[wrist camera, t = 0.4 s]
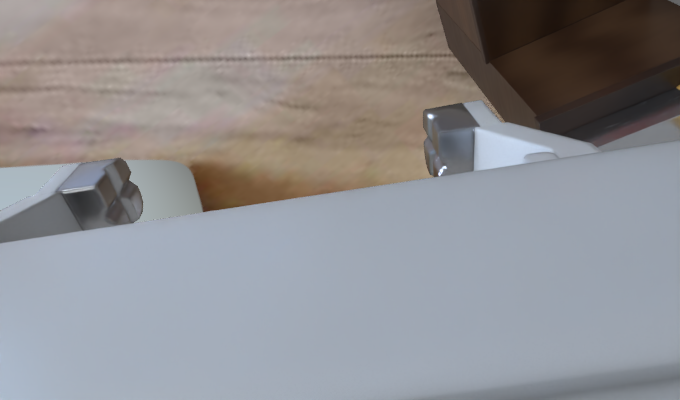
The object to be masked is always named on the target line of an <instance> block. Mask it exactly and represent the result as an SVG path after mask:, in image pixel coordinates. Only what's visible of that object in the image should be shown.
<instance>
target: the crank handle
mask: <svg viewBox="0 0 680 400" xmlns="http://www.w3.org/2000/svg"><path fill="white" fill-rule="evenodd" d="M561 136H565V137H568V138H572V139H576V140H580V141H584V142H588V143H592V144H593V145H594V146H596V147H597V148H598V149H599V150H600V151H601V152H604V151H611V150H617V149H624V148H630V147H637V146H644V145H650V144H657V143H663V142H670V141H676V140H680V85H679V86H677V87H676V88H674V89H672V90H669V91H667V92H664V93H662V94H659V95H657V96H655V97H652V98H650V99H647V100H645V101H642V102H640V103H637V104H635V105H632V106H630V107H627V108H625V109H622V110H620V111H617V112H615V113H612V114H610V115H608V116H605V117H603V118H600V119H598V120H595V121H593V122H590V123H588V124H585V125H583V126H580V127H578V128H575V129H573V130H570V131H568V132H565V133H563V134H561Z"/></svg>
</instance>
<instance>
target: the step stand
mask: <svg viewBox="0 0 680 400" xmlns="http://www.w3.org/2000/svg"><path fill="white" fill-rule="evenodd" d="M436 3H437V7H438V11H439V14H440V18H441V21H442V25H443V28H444V32H445V36H446V39H447V43H448V46H449V49H450V50H451V51H452V53H453V54H454V55H455V57H456V58H457V59H458V61H459V62H460V63H461V64H462V66H463V67H464V68H465V70H466V71H467V72H468V74H469V75H470V76H471V78H472V79H473V80H474V81H475V83H476V84H477V85H478V87H479V88H480V89H481V91H482V92H483V93H484V95H485V96H486V97H487V98H488V100H489V101H490V102H491V104H492V105H493V106H494V108H495V109H496V110H497V112H498V113H499V114H500V116H501V117H502V118H503V119H504V121H505V122H509V123H513V124H517V125H521V126H525V127H529V128H533V129H537V130H541V131H545V132H549V133H553V134H557V135H561V134H563V133H565V132H568V131H570V130H573V129H575V128H578V127H580V126H583V125H585V124H588V123H590V122H593V121H595V120H598V119H600V118H603V117H605V116H608V115H610V114H612V113H615V112H617V111H620V110H622V109H625V108H627V107H630V106H632V105H635V104H637V103H640V102H642V101H645V100H647V99H650V98H652V97H655V96H657V95H659V94H662V93H664V92H667V91H669V90H672V89H674V88H676V87H677V86H679V85H680V6H678V5H677V4H674V3H672V2H670V1H668V0H436Z"/></svg>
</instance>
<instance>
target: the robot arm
mask: <svg viewBox="0 0 680 400" xmlns="http://www.w3.org/2000/svg"><path fill="white" fill-rule="evenodd" d="M423 128H424V130H425V132H426V134H427V138H426V139H425V141H424V153H425V160H426V165H427V168H428V171H429V173H430V175H432V176H434V177H433V178H426V179H420V180H413V181H406V182H400V183H393V184H387V185H380V186H374V187H367V188H360V189H354V190H347V191H341V192H334V193H328V194H321V195H314V196H308V197H301V198H295V199H288V200H282V201H275V202H268V203H262V204H255V205H249V206H242V207H236V208H229V209H223V210H216V211H209V212H203V213H196V214H190V215H184V216H177V217H170V218H163V219H157V220H151V221H144V222H137V223H134V222H135V221H137V220H138V219H139V218H140V216H141V214H142V212H143V200H142V196H141V193H140V191H139V188H138V186H136V185H135V184H134V183H132V182H131V181H129V177H130V174H131V171H130V169H129V167H128V165H127V163H126V162H125V161H124V160H123V159H121V158H115V159H108V160H100V161H93V162H86V163H83V162H81V163H76V164H70V165H64V166H62V167H61V168H60V169H59V170H58V171H57V172H56V173H55V174H54V175H53V176H52V177H51V178H50V179H49V181H48V182H47V183H46V184H45V185H44V186H43V187H42V188H41V189H40V190H39V191H38V192H37V193H36V194H35V195H34V196H29V197H26V198H24V199H22V200H20V201H19V202H16V203H15V204H12V205H10V206H9V207H6V208H4V209H2V210H0V400H680V140H676V141H670V142H663V143H657V144H650V145H644V146H637V147H630V148H624V149H617V150H611V151H604V152H601V151H600V150H599V149H598V148H597V147H596V146H594V145H593V144H592V143H588V142H584V141H580V140H576V139H572V138H568V137H565V136H561V135H557V134H553V133H549V132H545V131H541V130H537V129H533V128H529V127H525V126H521V125H517V124H513V123H509V122H506V123H502V122H501V121H500V120H499V119H498V118H497V117H496V116H495V115H494V113H493V112H492V111H491V110H490V109H489V108H488V107H487V106H486V105H485V103H484V102H483V101H482V100H478V101H472V102H467V103H458V104H453V105H447V106H442V107H436V108H430V109H425V110H424V111H423Z"/></svg>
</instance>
